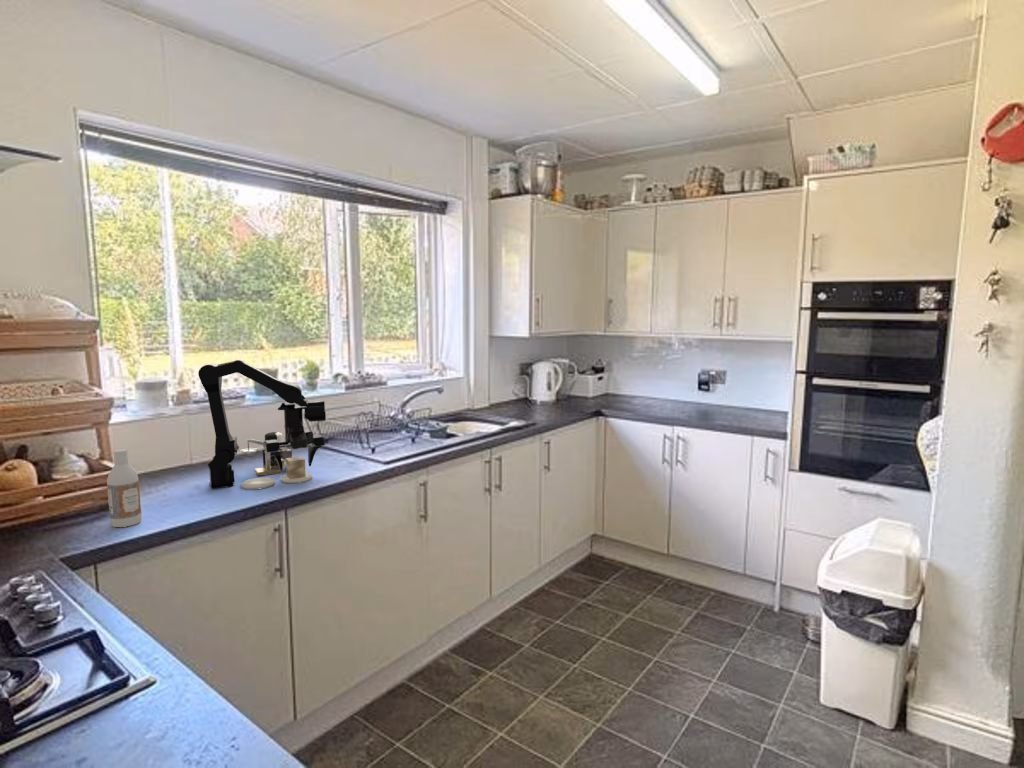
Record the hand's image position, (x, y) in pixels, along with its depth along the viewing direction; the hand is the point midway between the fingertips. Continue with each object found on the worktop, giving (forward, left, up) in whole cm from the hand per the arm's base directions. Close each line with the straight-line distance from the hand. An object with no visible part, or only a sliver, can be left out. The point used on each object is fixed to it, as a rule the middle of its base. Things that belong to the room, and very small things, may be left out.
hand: (295, 468), depth 196 cm
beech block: (0, 0, -3) cm, 3 cm away
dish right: (0, 0, -4) cm, 4 cm away
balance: (-6, +14, -4) cm, 16 cm away
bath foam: (-48, -18, -4) cm, 51 cm away
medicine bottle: (-2, +23, -4) cm, 23 cm away
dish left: (-12, 0, -4) cm, 13 cm away
